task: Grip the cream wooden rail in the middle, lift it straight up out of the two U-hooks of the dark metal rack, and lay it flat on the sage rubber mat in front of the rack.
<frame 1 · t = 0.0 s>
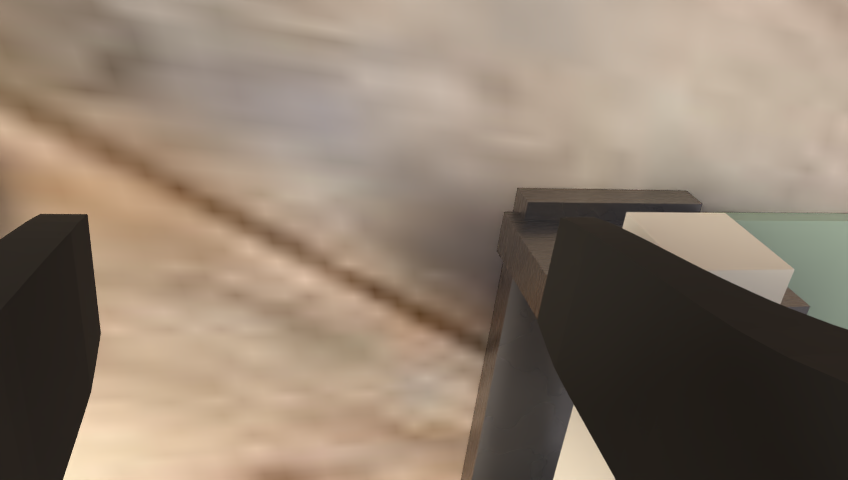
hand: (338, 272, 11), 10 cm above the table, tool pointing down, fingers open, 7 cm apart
rail: (593, 479, 25), point 4 cm above the table, touching rack
rack: (551, 399, 28), on the table
mat: (739, 424, 31), on the table
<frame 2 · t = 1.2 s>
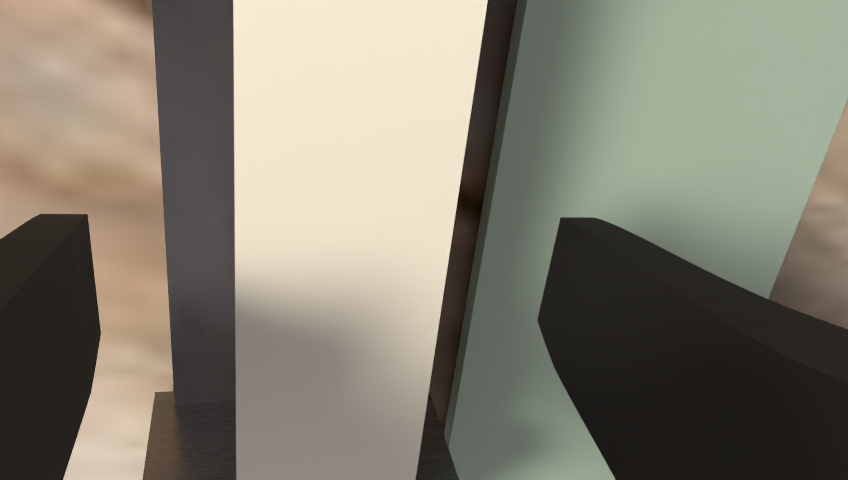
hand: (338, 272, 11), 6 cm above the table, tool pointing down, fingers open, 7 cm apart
rail: (321, 214, 13), point 4 cm above the table, touching rack
rack: (304, 134, 17), on the table
mat: (640, 215, 20), on the table
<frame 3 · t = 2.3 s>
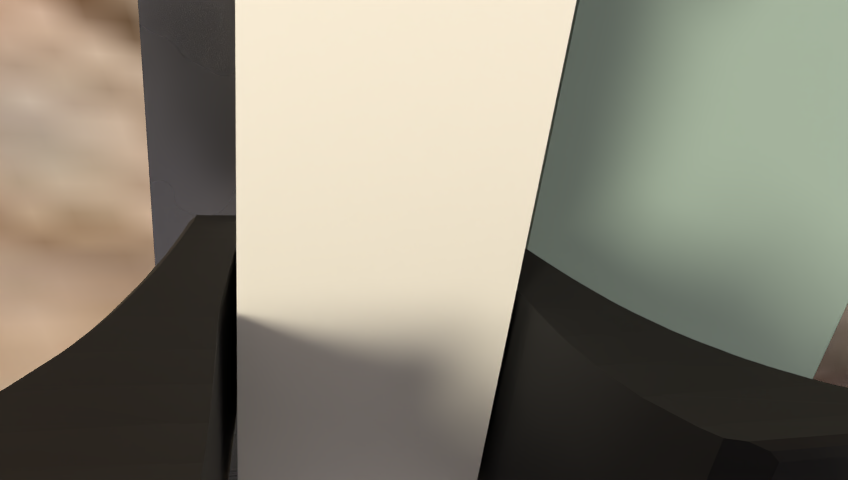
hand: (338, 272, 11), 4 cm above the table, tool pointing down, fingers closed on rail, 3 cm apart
rail: (340, 283, 11), point 4 cm above the table, touching gripper, rack
rack: (316, 174, 15), on the table
mat: (690, 258, 18), on the table
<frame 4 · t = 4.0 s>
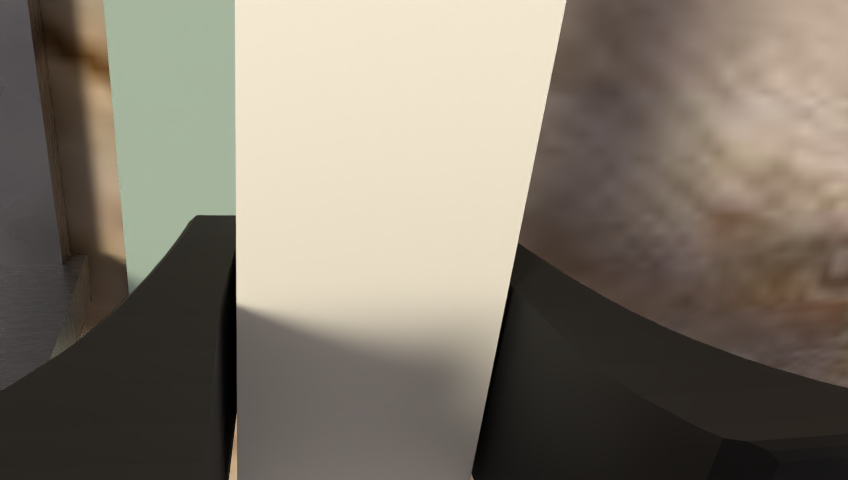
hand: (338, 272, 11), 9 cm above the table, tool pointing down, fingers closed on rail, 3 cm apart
rail: (338, 274, 11), point 9 cm above the table, touching gripper
mat: (298, 86, 19), on the table
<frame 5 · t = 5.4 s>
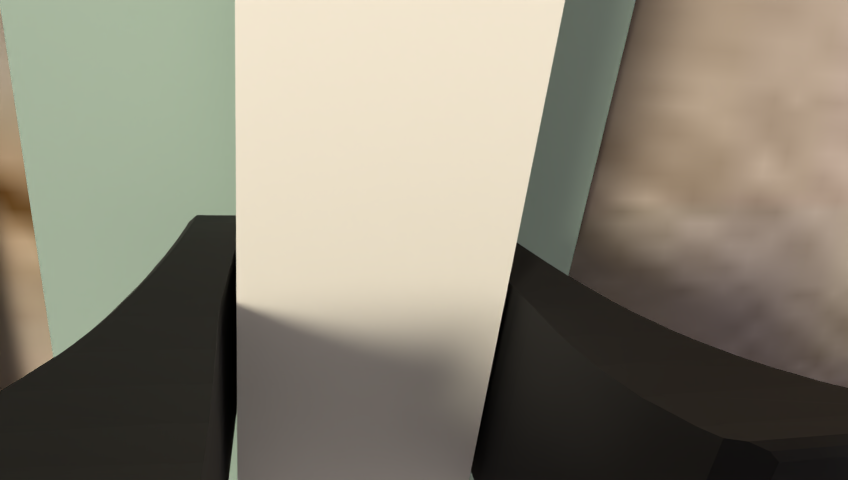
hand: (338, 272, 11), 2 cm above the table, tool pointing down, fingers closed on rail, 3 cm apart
rail: (338, 272, 11), point 2 cm above the table, touching gripper
mat: (326, 222, 13), on the table
when the fingers open (2 cm above the table, at t = 6.1 s): rail drops 1 cm, resting on mat.
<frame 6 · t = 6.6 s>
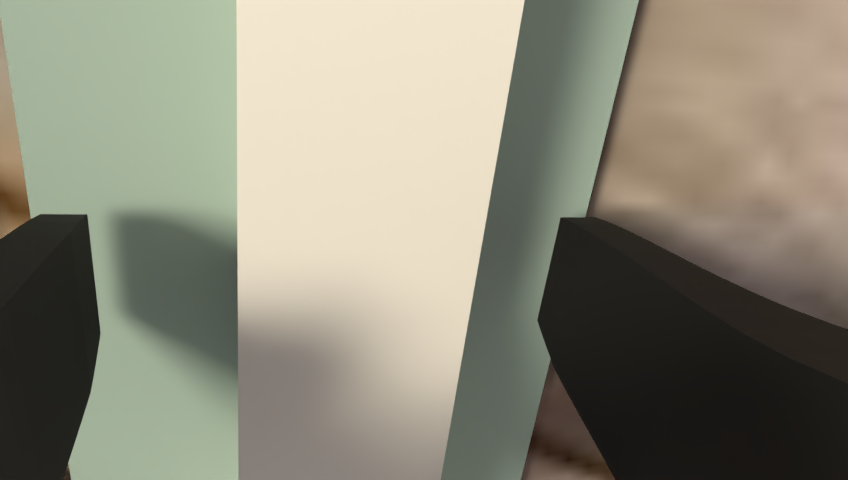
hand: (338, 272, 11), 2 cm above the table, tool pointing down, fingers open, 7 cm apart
rail: (331, 238, 12), point 1 cm above the table, touching mat
mat: (327, 224, 13), on the table
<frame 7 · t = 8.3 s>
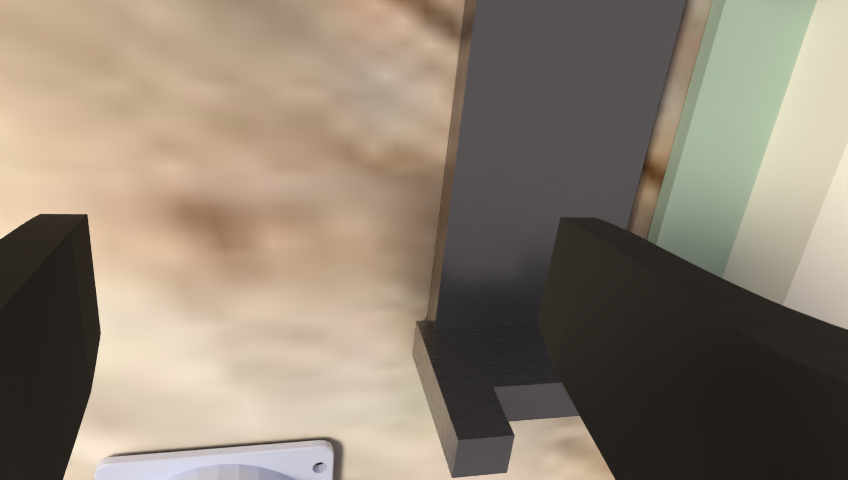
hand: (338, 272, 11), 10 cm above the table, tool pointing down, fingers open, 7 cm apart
rail: (791, 188, 25), point 1 cm above the table, touching mat
rack: (546, 122, 22), on the table
mat: (779, 182, 25), on the table
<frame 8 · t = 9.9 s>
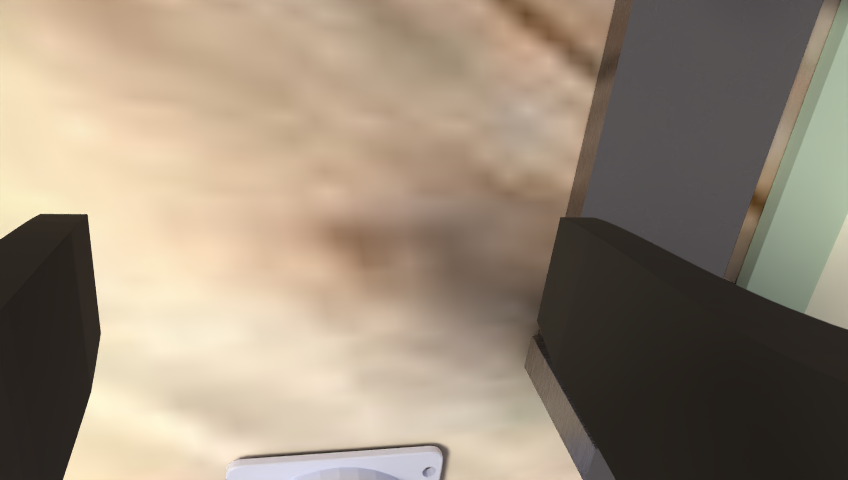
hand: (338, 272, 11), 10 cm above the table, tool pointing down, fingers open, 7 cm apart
rack: (665, 153, 24), on the table
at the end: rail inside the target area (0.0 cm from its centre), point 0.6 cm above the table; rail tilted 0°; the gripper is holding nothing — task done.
